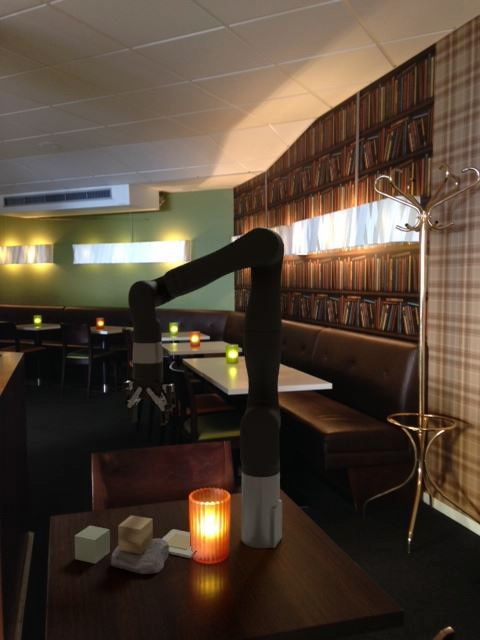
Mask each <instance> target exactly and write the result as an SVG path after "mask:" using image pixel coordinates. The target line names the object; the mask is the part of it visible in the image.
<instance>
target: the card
mask: <svg viewBox="0 0 480 640" xmlns="http://www.w3.org/2000/svg"><path fill="white" fill-rule="evenodd" d="M190 533H191V532H189V531H183V530H180V529H173V528H172V529H171V530H170V531H169V532H168V533H166V535H164V536H163V537H162V538H161V539H162V540H165V541H167V543H168V545H169V553H168V554H169V555H173V556H177V557H178V556H179V557H182V558H183V557H184V558H187V559H191V558H192V557H193V556H194V555H195V554H194V553H193V552H192V551H191V546H190Z"/></svg>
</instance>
